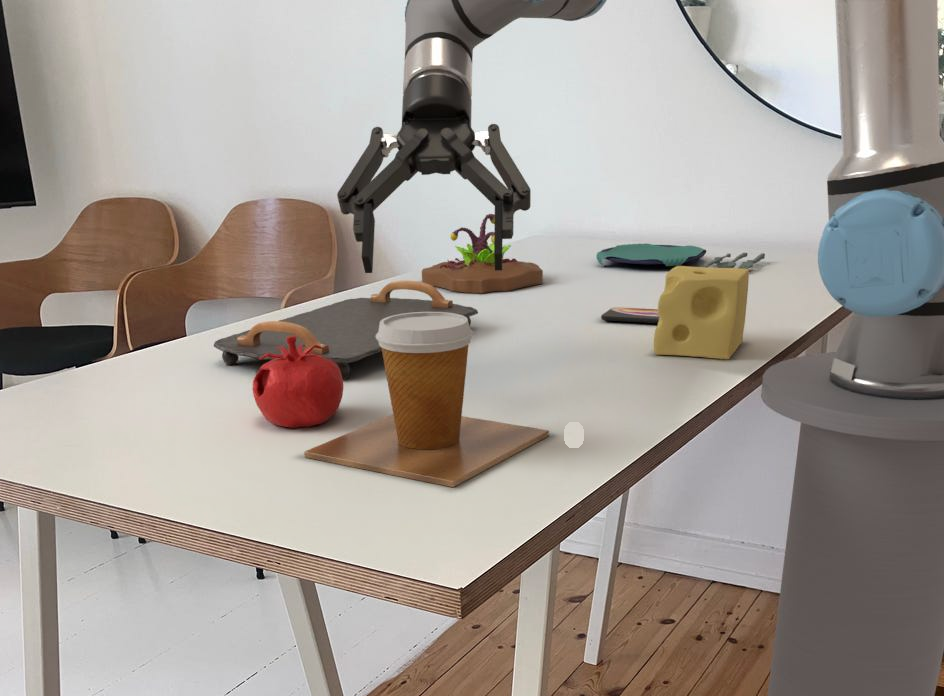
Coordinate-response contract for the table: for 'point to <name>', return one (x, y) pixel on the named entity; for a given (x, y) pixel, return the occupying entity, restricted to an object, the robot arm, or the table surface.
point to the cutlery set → (667, 255)
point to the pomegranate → (298, 387)
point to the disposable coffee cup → (426, 375)
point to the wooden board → (429, 450)
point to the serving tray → (337, 327)
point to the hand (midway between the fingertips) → (432, 264)
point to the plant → (481, 268)
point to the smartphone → (631, 315)
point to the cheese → (702, 312)
